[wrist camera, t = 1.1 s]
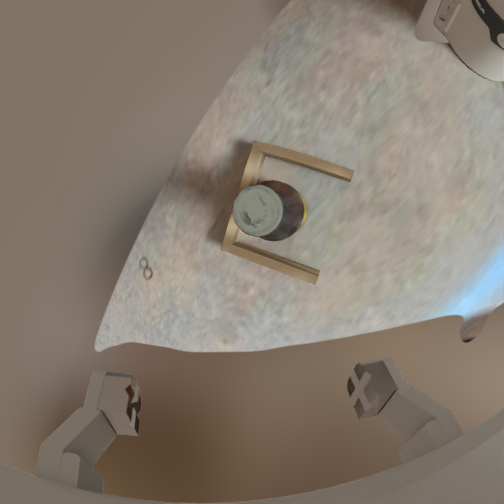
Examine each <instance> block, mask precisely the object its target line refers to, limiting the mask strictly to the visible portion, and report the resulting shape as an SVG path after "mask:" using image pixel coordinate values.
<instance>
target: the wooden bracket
mask: <svg viewBox="0 0 504 504" xmlns="http://www.w3.org/2000/svg"><path fill="white" fill-rule="evenodd" d="M265 155H266V156H270V157H273V158H277V159H280V160H284V161H287V162H290V163H294V164H297V165H300V166H303V167H307V168H310V169H313V170H316V171H319V172H322V173H325V174H328V175H331V176H334V177H337V178H340V179H343V180H346V181H348V182H350V181H351V179H352V176H353V173H354V171H353V170H351V169H348V168H345V167H342V166H339V165H336V164H333V163H330V162H327V161H324V160H321V159H318V158H315V157H311V156H308V155H305V154H301V153H298V152H295V151H291V150H288V149H284V148H281V147H277V146H274V145H270V144H266V143H262V142H258V141H254V142H253V145H252V148H251V151H250V155H249V158H248V161H247V164H246V167H245V171H244V174H243V177H242V180H241V183H240V187H239V190H238V193H237V195H238V194H239V192H240V191H241V190H243V189H244V188H246V187H248V186H251V185H256V184H257V181H258V178H259V175H260V171H261V168H262V165H263V162H264V159H265ZM241 233H242V230H241V229H240V228H239V227H238V226H237V225H236V223H235V221H234V218H233V214H232V213H231V216H230V220H229V223H228V227H227V230H226V233H225V237H224V240H223V244H222V247H221V250H223V251H226V252H229V253H231V254H234V255H237V256H239V257H242V258H245V259H247V260H250V261H253V262H255V263H258V264H261V265H264V266H266V267H269V268H272V269H274V270H277V271H280V272H282V273H285V274H288V275H290V276H293V277H296V278H299V279H301V280H304V281H307V282H309V283H312V284H316V281H317V279H318V276H319V270H316V269H313V268H310V267H308V266H305V265H302V264H299V263H297V262H294V261H291V260H289V259H286V258H283V257H280V256H278V255H275V254H272V253H269V252H267V251H264V250H261V249H258V248H256V247H253V246H250V245H247V244H244V243H242V242H239V239H240V236H241Z"/></svg>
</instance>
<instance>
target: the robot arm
mask: <svg viewBox="0 0 504 504" xmlns="http://www.w3.org/2000/svg"><path fill="white" fill-rule="evenodd" d="M434 25H435V27H436V28H437V29H438V30H439V31H440V32H441V33H442V34H443V35H444V36H445V37H446V38H447V39H448V41H449V43H450V45H451V46H452V48H453V50H454V51H455V52H456V54H457V55H458V56H459V57H460V59H461V60H462V61H463V62H464V63H465V64H466V65H467V66H469V67H470V68H471V69H472V70H473V71H475V72H476V73H478V74H479V75H481V76H483V77H485V78H487V79H490V80H493V81H504V0H442V1H441V4H440V6H439V9H438V11H437V14H436V17H435V19H434ZM354 371H355V372H354V373H353V374H352V375H351V376H350V377H349V379H348V383H347V389H348V393H349V396H350V398H352V399H353V400H354V401H355V404H354V408H355V411H356V413H357V415H358V418H359V419H363V418H367V417H371V416H376V415H377V417H378V418H379V419H380V420H382V421H383V422H384V423H385V424H386V425H387V426H389V427H390V428H391V429H392V430H393V431H394V432H395V433H397V434H398V435H399V436H400V437H401V438H403V439H404V440H405V441H406V443H405V444H404V445H403V446H402V447H401V448H400V449H399V451H398V452H399V455H400V457H401V459H402V462H403V464H401V465H398V466H396V467H393V468H391V469H388V470H385V471H382V472H380V473H377V474H374V475H371V476H368V477H365V478H362V479H358V480H355V481H352V482H349V483H345V484H341V485H337V486H333V487H330V488H325V489H321V490H316V491H312V492H307V493H302V494H296V495H291V496H284V497H278V498H271V499H263V500H253V501H243V502H226V503H175V502H159V501H148V500H139V499H131V498H124V497H118V496H112V495H106V494H103V484H104V479H103V477H102V476H101V475H100V474H98V473H97V472H96V471H95V470H94V469H93V468H92V467H93V465H94V464H95V463H96V462H97V460H98V459H99V458H100V456H101V455H102V454H103V453H104V451H105V450H106V449H107V447H108V446H109V445H110V443H111V442H112V441H113V440H114V438H115V437H116V436H117V435H116V434H122V435H133V436H138V435H139V424H140V420H139V418H138V416H137V414H138V413H139V412H140V410H141V392H140V388H139V387H138V386H137V385H136V377H135V375H133V374H122V373H113V372H105V371H96V370H95V371H93V373H92V375H91V379H90V382H89V386H88V390H87V395H86V398H85V403H84V407H83V408H81V407H80V408H79V409H77V410H76V411H75V412H74V413H73V414H72V415H71V416H70V417H69V418H68V419H67V420H66V421H65V422H64V423H63V424H62V425H61V426H60V427H59V428H58V429H56V430H55V431H54V432H53V433H52V434H51V435H50V436H49V437H48V438H47V439H46V440H45V441H44V442H43V443H42V444H41V447H40V452H39V457H38V462H37V467H36V473H35V475H32V474H30V473H27V472H24V471H22V470H19V469H16V468H14V467H12V466H9V465H7V464H5V463H2V462H0V504H504V409H503V410H501V411H500V412H499V413H497V414H496V415H494V416H493V417H491V418H490V419H488V420H487V421H485V422H483V423H482V424H480V425H479V426H477V427H475V428H474V429H472V430H470V431H469V432H467V433H465V434H463V432H462V430H461V428H460V426H459V425H458V423H457V421H456V419H455V417H454V415H453V414H452V412H451V411H450V410H448V409H447V408H445V407H444V406H442V405H440V404H438V403H437V402H436V401H434V400H432V399H431V398H429V397H428V396H426V395H425V394H423V393H421V392H420V391H418V390H417V389H415V388H414V387H412V386H411V387H409V386H408V384H407V382H406V381H405V379H404V377H403V375H402V374H401V372H400V370H399V368H398V367H397V365H396V363H395V361H394V360H393V359H392V358H391V357H389V358H384V359H377V360H372V361H367V362H362V363H358V364H357V365H356V366H355V368H354Z"/></svg>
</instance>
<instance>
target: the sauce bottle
mask: <svg viewBox="0 0 504 504" xmlns="http://www.w3.org/2000/svg"><path fill="white" fill-rule="evenodd" d="M232 214H233V218H234V221H235V223H236V225H237V226H238V227H239V228H240V229H241V230H242V231H243V232H244V233H246V234H248V235H252V236H257V237H260V238H262V239H264V240H268V241H280V240H283V239H286V238H288V237H290V236H291V235H293V234H294V233H295V232H296V231H297V230H298V229H300V228H301V227H302V226H303V224H304V223H305V221H306V219H307V214H308V207H307V203H306V200H305V199H304V197H303V196H302V195H301V194H300V193H299V192H298V191H296V190H295V189H294V188H293V187H291V186H290V185H288V184H286V183H283V182H279V181H273V180H272V181H265V182H262V183H260V184H257V185H251V186H248V187H246V188H244V189H243V190H241V191H240V192H239V194H238V195H237V196H236V198H235V200H234V202H233V207H232Z"/></svg>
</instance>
